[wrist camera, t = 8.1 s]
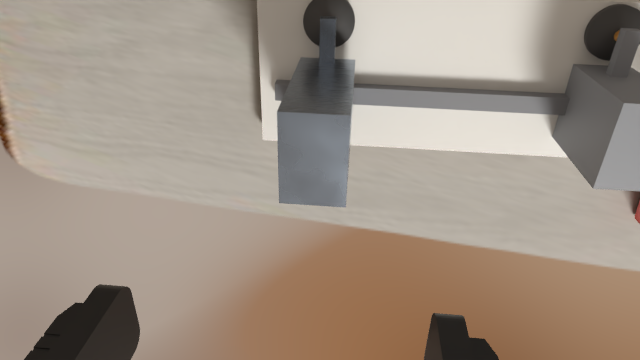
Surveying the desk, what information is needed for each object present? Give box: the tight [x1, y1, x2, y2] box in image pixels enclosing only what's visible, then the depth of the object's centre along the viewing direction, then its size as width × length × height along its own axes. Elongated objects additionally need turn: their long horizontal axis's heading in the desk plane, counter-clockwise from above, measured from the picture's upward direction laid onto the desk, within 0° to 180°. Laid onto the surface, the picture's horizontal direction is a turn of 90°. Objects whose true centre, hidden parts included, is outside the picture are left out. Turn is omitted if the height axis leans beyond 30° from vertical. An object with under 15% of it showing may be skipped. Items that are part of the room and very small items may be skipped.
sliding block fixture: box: [257, 0, 640, 191], centre depth 25 cm, size 22×9×8 cm, turn 89°
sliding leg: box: [277, 16, 355, 207], centre depth 23 cm, size 3×7×8 cm, turn 179°
